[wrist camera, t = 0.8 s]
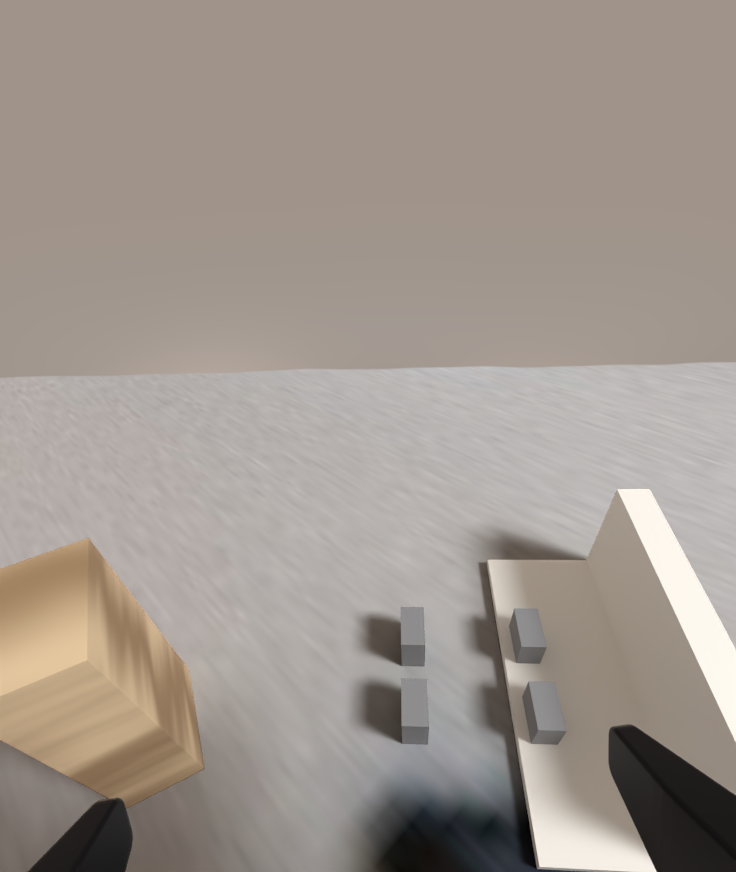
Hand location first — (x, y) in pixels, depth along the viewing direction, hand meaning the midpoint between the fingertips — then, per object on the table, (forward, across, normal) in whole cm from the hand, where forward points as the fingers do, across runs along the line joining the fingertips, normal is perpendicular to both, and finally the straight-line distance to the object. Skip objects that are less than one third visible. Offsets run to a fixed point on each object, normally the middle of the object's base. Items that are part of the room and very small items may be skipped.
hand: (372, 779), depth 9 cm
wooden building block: (+13, +11, +10) cm, 20 cm away
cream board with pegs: (+13, -9, +11) cm, 19 cm away
